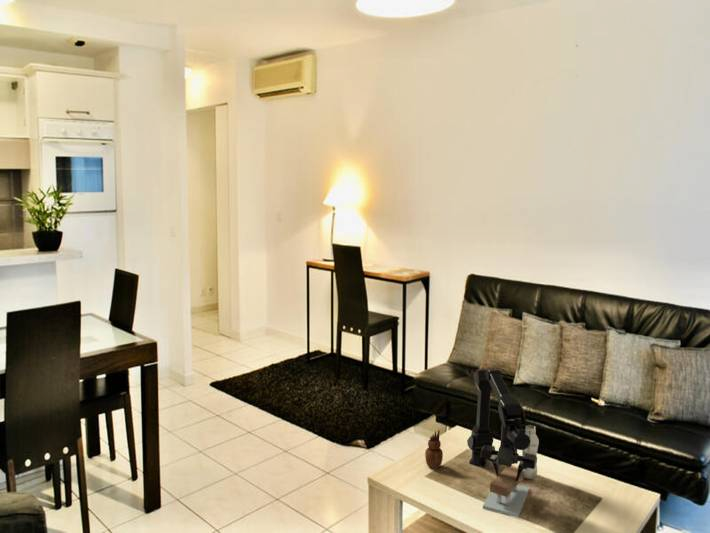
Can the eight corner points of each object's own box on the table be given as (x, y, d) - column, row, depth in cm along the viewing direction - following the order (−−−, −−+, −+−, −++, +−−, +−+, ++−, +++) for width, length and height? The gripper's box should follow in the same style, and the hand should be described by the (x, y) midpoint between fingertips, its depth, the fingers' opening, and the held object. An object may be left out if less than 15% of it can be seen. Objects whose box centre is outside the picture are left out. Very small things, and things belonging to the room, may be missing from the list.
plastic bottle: (518, 479, 217) (521, 429, 214) (520, 471, 223) (523, 422, 220) (536, 482, 214) (539, 431, 212) (537, 474, 220) (540, 425, 218)
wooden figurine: (441, 463, 229) (443, 427, 227) (442, 470, 223) (443, 433, 221) (424, 462, 229) (425, 427, 227) (425, 469, 224) (426, 433, 222)
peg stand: (496, 482, 214) (496, 469, 213) (529, 490, 209) (529, 477, 208) (482, 508, 196) (483, 494, 196) (518, 517, 191) (519, 503, 190)
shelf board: (507, 473, 210) (508, 465, 210) (523, 478, 206) (523, 470, 206) (489, 491, 197) (490, 483, 197) (506, 497, 194) (506, 488, 193)
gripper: (477, 440, 197) (475, 483, 199) (532, 452, 188) (530, 496, 190) (485, 428, 206) (483, 469, 209) (538, 439, 198) (536, 481, 200)
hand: (507, 479), depth 202 cm, fingers closed on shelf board, 6 cm apart
